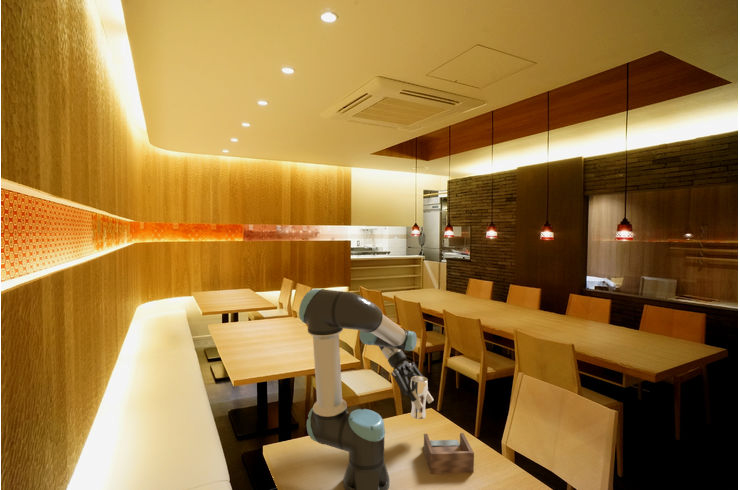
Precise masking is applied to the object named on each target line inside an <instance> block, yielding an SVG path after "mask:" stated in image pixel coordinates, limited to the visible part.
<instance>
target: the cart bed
mask: <svg viewBox="0 0 740 490" xmlns="http://www.w3.org/2000/svg"><path fill="white" fill-rule="evenodd" d="M423 453H424V457H425V460H426V462H427V466H428V469H429V472H430V474H431V475H432V474H436V475H437V474H458V473H459V474H463V473H474V471H475V470H474V469H475V463H474V462H475V461H474V460H475V452H474V451H473V449H472V447H471V445H470V443H469V441H468V439H467V437H466V435H465V434H464V432H460V433H459V440H458V439H440V440H439V439H437V440H435V439H433V440H430V437H429V435H428V433H424V434H423Z"/></svg>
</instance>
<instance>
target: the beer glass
mask: <svg viewBox="0 0 740 490" xmlns="http://www.w3.org/2000/svg"><path fill="white" fill-rule="evenodd" d="M428 380H429V379H428V378H427V377H425V376H424V375H423V376H413V377H412V378H410V387H411V389H412V392H413V391H414V392H415V394H416V395H417V397H418V398H419V400H420V401H421V403H422V405H423V407H422V408H420V409H419V410H418V409H417V407H416V406H415V404H414V403H413V402H412V401H411V411H410V416H411V417H412V418H413V419H417V420H423V419H425V418H427V411H426V403H427V394H428V391H429V387H428V384H429V383H428Z"/></svg>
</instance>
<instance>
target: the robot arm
mask: <svg viewBox="0 0 740 490" xmlns="http://www.w3.org/2000/svg"><path fill="white" fill-rule="evenodd" d="M298 309H299V310H298V317H299V319H300V321H301V323H303V324H304V325H306V324H307V332H308V334H309V335H311V336H312V341H313V342H312V343H313V357H314V359H313V360H314V361H313V362H314V374H315V375H314V376H315V393H316V401H315V402H314V404H313V406H312V408H311V409H310V411H309V412H308V415H307V417H308V419H307V420H306V431H307V434H308V436H309V438H310V439H311V440H312V441H314V442H317V443H318V444H320V445H324V446H328V447H332V448H335V449H338V450H341V451H345V452H348V463H347V466H346V469H345V473H344V476H343V489H344V488H345V489H344V490H389V489H390V476H389V472H388V469H387V466H386V463H385V436H386V432H385V431H386V430H385V421H384V419H383V417H382V416H381V415H380V414H379V413H378V412H376V411H374V410H371V409H369V408H368V409H367V408H363V409H361V408H357V409H354V410H352V411H351V412H349V411H348V404H347V401H346V400H345V399H343V391H342V373H341V372H342V370H341V369H342V368H341V353H340V352H341V351H340V335H339V334H341V333H342V332H343V330H344V329H346V330H356V331H359V340H360V341H361V343H362V344H364V345H367V346H377V347H379V349H380V351H381V352H382V354H383V356H384V357H385V359H386V360H387V362H388V363H389V366H390V367H391V368H393V370H392V371H391V372H390V375H391V376H392V377H393V378H394V380H395V382H396V383H397V386H398V387H399V389H400V392H401V394H402V395H403V396H406V397H407V396H408V398H409V399H410V401H411V403H412V402H413V403H414V404H415V406H416V407H417V409H418V410H419V409H420V408H422V407H423V405H422V403H421V401H420V400H419V398H418V397H417V395H416V394H415V392H414V391H413V392H412V389H411V387H410V385H411V383H410V381H409V379H408V377H409V378H410V379H411V378H412V377H413V376H423V377H424V375H423V374H422V373H421V371H420V370H419V368H418V367H417V365H416V363H415V362H413V361H412V363H411V362H410V363H409V361H408V360H407V355H406V354H405V353H404V351H407V352H408V351H409V352H412V351H414V350H415V348H416V346H417V337H418V336H417V334H416V332H415V331H411V330H405V329H403V328H402V327H400V326H399V325H398V324H397V323H395V322H394V321H393V320H391V319H390V318H388V317H387V316H386V315H385V314H383V311H382V310H381V308H380V307H379V306H378V305H376V303H374V302H372V301H371V300H369V299H367V298H365V297H364V296H362V295H359V294H357V293H355V292H351V291H341V290H332V289H331V290H330V289H325V288H321V289H320V288H317V289H316V288H315V289H314V288H313V289H310V290H309V291H308V292H306V293H305V295H304V296H303V298H302V299H301V302H300V304H299V308H298ZM433 401H434V397H433V396H432V395H431V393H430V391H429V390H428V394H427V400H426V403H428V404H431V403H432V402H433Z"/></svg>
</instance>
